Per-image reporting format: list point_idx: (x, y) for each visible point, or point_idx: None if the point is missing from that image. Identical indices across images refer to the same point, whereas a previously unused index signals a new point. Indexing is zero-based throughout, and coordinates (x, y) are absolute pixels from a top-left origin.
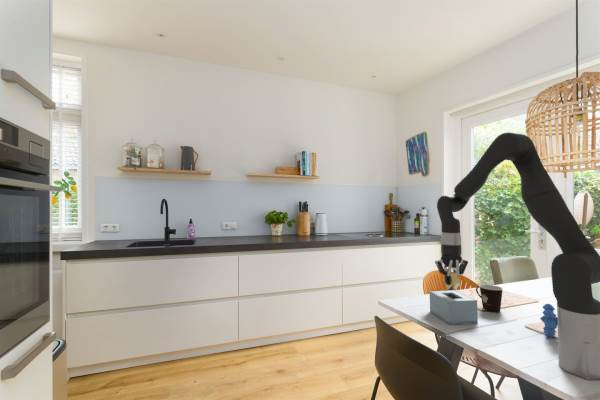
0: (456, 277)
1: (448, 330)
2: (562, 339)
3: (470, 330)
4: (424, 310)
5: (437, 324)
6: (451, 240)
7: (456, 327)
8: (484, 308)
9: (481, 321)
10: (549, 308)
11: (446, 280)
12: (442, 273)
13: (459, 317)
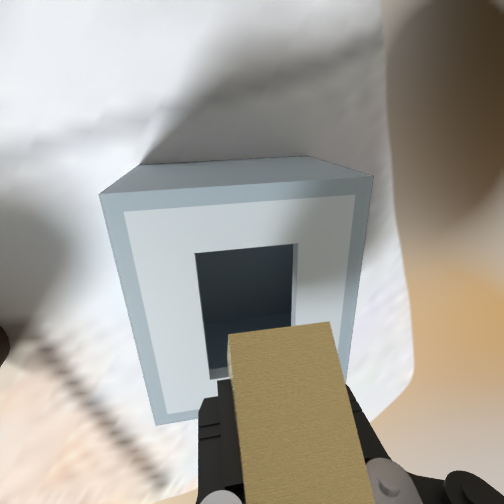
0: (275, 436)
1: (354, 80)
2: None
3: (238, 64)
4: None
5: (359, 165)
6: None
7: (289, 116)
8: (2, 342)
9: (103, 188)
10: None
11: (360, 408)
12: (489, 496)
13: (254, 164)
